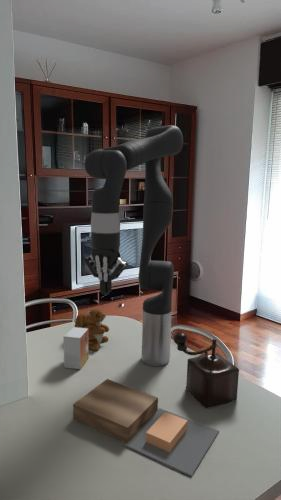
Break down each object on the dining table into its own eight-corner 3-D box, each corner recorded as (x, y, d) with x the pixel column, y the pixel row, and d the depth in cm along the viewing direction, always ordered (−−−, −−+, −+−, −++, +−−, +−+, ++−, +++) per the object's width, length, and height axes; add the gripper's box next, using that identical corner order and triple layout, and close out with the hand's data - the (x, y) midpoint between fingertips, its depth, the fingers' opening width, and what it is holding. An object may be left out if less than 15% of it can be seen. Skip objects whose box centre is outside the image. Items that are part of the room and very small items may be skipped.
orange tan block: (187, 420, 87) (187, 429, 88) (165, 411, 91) (164, 420, 91) (170, 442, 80) (169, 452, 80) (146, 432, 83) (145, 441, 83)
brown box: (107, 392, 103) (107, 378, 102) (157, 411, 95) (158, 397, 94) (73, 418, 91) (73, 404, 91) (127, 443, 83) (127, 427, 83)
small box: (80, 370, 115) (80, 338, 113) (63, 368, 116) (63, 336, 114) (89, 358, 122) (89, 328, 120) (73, 356, 124) (72, 326, 122)
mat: (159, 409, 96) (159, 408, 96) (218, 432, 88) (218, 430, 88) (125, 446, 83) (125, 444, 82) (191, 477, 74) (191, 475, 74)
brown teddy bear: (98, 352, 127) (98, 315, 124) (64, 343, 133) (64, 308, 130) (113, 341, 136) (113, 306, 133) (80, 333, 142) (80, 300, 139)
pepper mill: (213, 380, 111) (217, 323, 107) (238, 400, 101) (242, 338, 97) (168, 391, 104) (170, 331, 101) (189, 414, 94) (192, 348, 91)
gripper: (134, 230, 96) (133, 294, 100) (94, 225, 103) (94, 286, 106) (118, 234, 90) (118, 302, 93) (76, 229, 96) (77, 292, 100)
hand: (105, 293), depth 100 cm, fingers closed
